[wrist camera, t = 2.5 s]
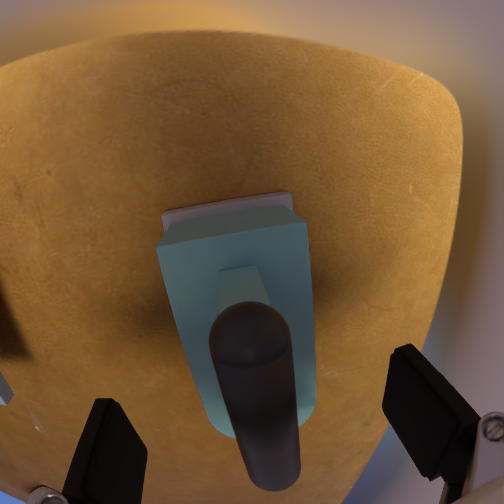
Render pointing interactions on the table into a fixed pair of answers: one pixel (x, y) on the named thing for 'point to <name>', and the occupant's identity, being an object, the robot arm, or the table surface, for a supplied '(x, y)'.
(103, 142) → the table surface
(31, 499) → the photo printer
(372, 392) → the table surface
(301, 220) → the iron
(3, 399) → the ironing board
